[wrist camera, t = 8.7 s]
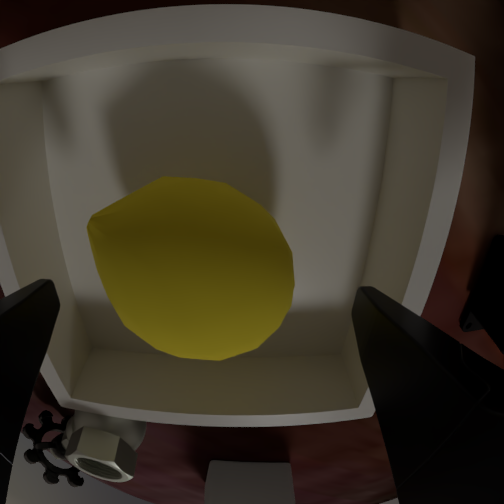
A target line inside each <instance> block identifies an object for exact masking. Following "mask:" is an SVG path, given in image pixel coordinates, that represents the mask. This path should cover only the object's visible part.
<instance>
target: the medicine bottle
mask: <svg viewBox="0 0 504 504" xmlns="http://www.w3.org/2000/svg"><path fill="white" fill-rule="evenodd" d="M204 504H295V497H294V488H293V480H292V472H291V465H290V464H289V463H266V462H238V461H222V460H211V461H210V463H209V468H208V473H207V478H206V483H205V500H204Z"/></svg>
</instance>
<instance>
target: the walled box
mask: <svg viewBox="0 0 504 504" xmlns="http://www.w3.org/2000/svg"><path fill="white" fill-rule="evenodd" d="M474 75H475V56H473V55H471V54H468V53H466V52H464V51H461V50H459V49H456V48H454V47H451V46H449V45H446V44H444V43H441V42H438V41H436V40H433V39H430V38H427V37H424V36H421V35H418V34H415V33H412V32H409V31H406V30H402V29H399V28H395V27H392V26H388V25H384V24H380V23H376V22H372V21H368V20H364V19H359V18H355V17H350V16H345V15H339V14H334V13H328V12H322V11H315V10H308V9H300V8H291V7H280V6H267V5H245V4H208V5H187V6H174V7H163V8H154V9H146V10H139V11H132V12H126V13H120V14H115V15H110V16H105V17H100V18H95V19H91V20H87V21H83V22H79V23H75V24H71V25H67V26H64V27H60V28H57V29H54V30H50V31H47V32H44V33H41V34H38V35H35V36H32V37H29V38H27V39H24V40H21V41H18V42H16V43H13V44H11V45H8V46H6V47H3V48H1V49H0V284H1V286H2V289H3V292H4V294H5V297H6V296H8V295H10V294H12V293H14V292H16V291H17V290H19V289H21V288H23V287H25V286H27V285H29V284H31V283H33V282H35V281H37V280H39V279H51V280H52V281H53V282H54V284H55V288H56V291H57V294H58V297H59V300H60V310H59V314H58V317H57V320H56V323H55V326H54V330H53V333H52V336H51V340H50V343H49V347H48V350H47V352H46V355H45V358H44V361H43V363H42V366H41V369H40V372H41V374H42V375H43V377H44V379H45V381H46V382H47V384H48V386H49V388H50V389H51V391H52V393H53V394H54V396H55V398H56V399H57V401H58V402H59V404H60V406H61V407H65V408H70V409H75V410H79V411H84V412H89V413H94V414H100V415H106V416H112V417H118V418H125V419H132V420H139V421H148V422H157V423H167V424H179V425H194V426H216V427H268V426H291V425H306V424H318V423H328V422H337V421H345V420H353V419H360V418H367V417H372V416H373V414H374V412H375V407H374V404H373V400H372V397H371V393H370V390H369V387H368V384H367V380H366V377H365V374H364V371H363V367H362V364H361V360H360V356H359V351H358V346H357V341H356V336H355V331H354V326H353V321H352V316H351V312H352V307H353V303H354V299H355V295H356V291H357V289H358V288H359V287H360V286H373V287H374V288H376V289H377V290H379V291H381V292H382V293H384V294H385V295H387V296H389V297H390V298H392V299H393V300H395V301H397V302H398V303H400V304H401V305H403V306H404V307H406V308H408V309H409V310H411V311H412V312H414V313H415V314H417V315H419V316H421V313H422V311H423V308H424V305H425V303H426V300H427V297H428V295H429V292H430V289H431V286H432V284H433V281H434V278H435V275H436V272H437V269H438V266H439V263H440V260H441V256H442V253H443V250H444V247H445V243H446V240H447V236H448V233H449V229H450V225H451V222H452V218H453V214H454V210H455V206H456V201H457V197H458V193H459V188H460V183H461V178H462V173H463V168H464V163H465V157H466V151H467V144H468V138H469V130H470V122H471V114H472V103H473V91H474ZM163 176H168V177H186V178H199V179H205V180H211V181H217V182H223V183H227V184H228V185H230V186H232V187H233V188H235V189H237V190H238V191H240V192H241V193H243V194H244V195H246V196H248V197H249V198H251V199H252V200H254V201H256V202H257V203H259V204H260V205H261V206H262V207H263V208H264V209H265V210H266V211H267V212H268V213H269V214H270V215H271V216H272V217H273V218H274V219H275V220H276V222H277V224H278V226H279V228H280V230H281V232H282V233H283V235H284V237H285V239H286V241H287V243H288V245H289V247H290V249H291V251H292V254H293V267H294V280H295V286H294V291H293V299H292V306H291V308H290V309H289V311H288V312H287V314H286V316H285V318H284V320H283V322H282V323H281V325H280V327H279V328H278V329H277V330H276V331H275V332H274V333H273V334H272V335H271V336H270V337H268V338H267V339H266V340H265V341H264V342H263V343H262V344H261V345H260V346H259V347H258V348H256V349H254V350H251V351H248V352H245V353H242V354H239V355H236V356H233V357H230V358H227V359H224V360H221V361H216V360H202V359H190V358H180V357H177V356H174V355H171V354H168V353H166V352H163V351H160V350H157V349H155V348H154V347H153V346H151V345H150V344H148V343H147V342H146V341H144V340H143V339H141V338H140V337H139V336H137V335H136V334H135V333H133V332H132V331H131V330H129V329H128V328H127V327H125V326H124V324H123V322H122V321H121V319H120V317H119V316H118V314H117V312H116V311H115V309H114V307H113V305H112V304H111V302H110V300H109V298H108V296H107V294H106V292H105V289H104V287H103V284H102V282H101V279H100V277H99V274H98V271H97V269H96V265H95V261H94V257H93V254H92V250H91V246H90V242H89V238H88V233H87V229H86V227H87V224H88V222H89V220H90V218H91V216H92V215H93V214H95V213H96V212H98V211H100V210H102V209H103V208H105V207H107V206H109V205H111V204H112V203H114V202H116V201H118V200H120V199H122V198H123V197H125V196H127V195H129V194H131V193H133V192H135V191H136V190H138V189H140V188H142V187H144V186H146V185H147V184H149V183H151V182H153V181H155V180H157V179H159V178H161V177H163Z"/></svg>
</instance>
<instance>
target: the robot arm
mask: <svg viewBox="0 0 504 504" xmlns="http://www.w3.org/2000/svg"><path fill="white" fill-rule="evenodd" d="M59 310H60V300H59V297H58V294H57V291H56V288H55V284H54V282H53V281H52V280H51V279H39V280H37V281H35V282H33V283H31V284H29V285H27V286H25V287H23V288H21V289H19V290H17V291H16V292H14V293H12V294H10V295H8V296H6V297H4V298H2V299H1V300H0V504H5V503H6V497H7V491H8V485H9V480H10V475H11V470H12V464H13V460H14V455H15V451H16V446H17V443H18V439H19V435H20V431H21V428H22V424H23V421H24V417H25V414H26V411H27V407H28V404H29V401H30V398H31V395H32V392H33V389H34V386H35V383H36V380H37V377H38V374H39V371H40V369H41V366H42V363H43V361H44V358H45V355H46V352H47V350H48V347H49V343H50V340H51V336H52V333H53V330H54V326H55V323H56V320H57V317H58V314H59ZM351 316H352V321H353V326H354V331H355V336H356V341H357V346H358V351H359V356H360V360H361V364H362V367H363V371H364V374H365V377H366V380H367V384H368V387H369V390H370V393H371V397H372V400H373V404H374V407H375V410H376V414H377V417H378V421H379V424H380V428H381V432H382V435H383V439H384V443H385V446H386V450H387V454H388V458H389V462H390V466H391V470H392V474H393V478H394V482H395V486H396V489H397V490H396V491H397V496H398V500H399V504H504V370H503V369H501V368H500V367H498V366H496V365H495V364H493V363H491V362H490V361H488V360H486V359H484V358H483V357H481V356H480V355H478V354H477V353H475V352H474V351H472V350H470V349H469V348H467V347H466V346H465V345H463V344H460V343H459V342H458V341H457V340H455V339H454V338H452V337H451V336H449V335H448V334H446V333H445V332H443V331H442V330H440V329H439V328H437V327H436V326H434V325H432V324H431V323H429V322H428V321H426V320H425V319H423V318H422V317H420V316H419V315H417V314H415V313H414V312H412V311H411V310H409V309H408V308H406V307H404V306H403V305H401V304H400V303H398V302H397V301H395V300H393V299H392V298H390V297H389V296H387V295H385V294H384V293H382V292H381V291H379V290H377V289H376V288H374V287H373V286H360V287H359V288H358V289H357V291H356V295H355V299H354V303H353V307H352V312H351ZM460 328H461V329H462V330H463V332H469V331H475V330H481V329H485V331H486V332H487V333H488V335H489V336H490V337H491V339H492V340H493V341H494V343H495V344H496V345H497V347H498V348H499V350H500V351H501V352H502V354H504V235H497V236H496V237H495V238H494V239H493V241H492V244H491V247H490V250H489V253H488V256H487V259H486V262H485V264H484V267H483V270H482V272H481V275H480V278H479V280H478V283H477V285H476V288H475V290H474V293H473V295H472V298H471V300H470V302H469V305H468V307H467V309H466V311H465V314H464V316H463V318H462V320H461V322H460Z"/></svg>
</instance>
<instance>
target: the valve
mask: <svg viewBox="0 0 504 504" xmlns="http://www.w3.org/2000/svg"><path fill="white" fill-rule="evenodd" d="M52 417H53V415H52V413H51V412H49V411H47V410H45V411H43V412H42V413H41V414H40V415H39V421H40V423H41V424H42V427H41V428H40V429H35V428H34V427H33V426H34V425H33V424H31V423H28V424H26V425H25V426H24V427H23V434H24V436H25V437H26V438H28V439H31V440H32V441H33V446H34V448H33V450H31V449H28V450H27V451H25V453H24V458H25V460H26V461H27V462H28V463H30V464H34V463H36V462H40V463H41V464H42V465H43V466H44V467H45V472H44V474H43V478H44V480H45V481H46V482H47V483H48V484H56V483H58V482H59V479H58V476H59V475H61V476H65V477H67V480H68V483H69V484H70V485H71V486H73V487H78V486H82V485H83V482H84V480H83V478H80V476H78V472H80V471H83V472H85V473H87V474H89V475H92V476H94V477H97V478H100V479H103V480H107V481H113V482H125V481H128V480H130V479H131V478H133V477H134V472H135V467H136V461H137V456H138V453H136V452H135V450H136V449H137V448H138V447H139V445H140V444H141V442H142V440H143V438H144V436H145V432H146V421H139V420H132V419H125V418H118V417H112V416H106V415H100V414H94V413H89V412H84V411H79V410H75V414H74V415H73V416H72V417H70V416H66V417H65V418H63V419H62V421H61V424H58V423H54V422H53V421H52ZM49 431H58V432H61V434H59V435H58V436H56V437H55V438H53V439H52V441H51V442H41V440H42V437H43V435H44V434H45V433H46V432H49ZM43 450H50V452H51V453H52V454H53V456H54V457H55V458H56V459H62V460H69V462H70V463H71V464H73V466H72V467H71V468H69V469H62V468H59V467H56V466H54V465H53V464H51V463H50V462H49V461H48V460H47V459H46V457H45V456H44V453H43Z"/></svg>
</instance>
